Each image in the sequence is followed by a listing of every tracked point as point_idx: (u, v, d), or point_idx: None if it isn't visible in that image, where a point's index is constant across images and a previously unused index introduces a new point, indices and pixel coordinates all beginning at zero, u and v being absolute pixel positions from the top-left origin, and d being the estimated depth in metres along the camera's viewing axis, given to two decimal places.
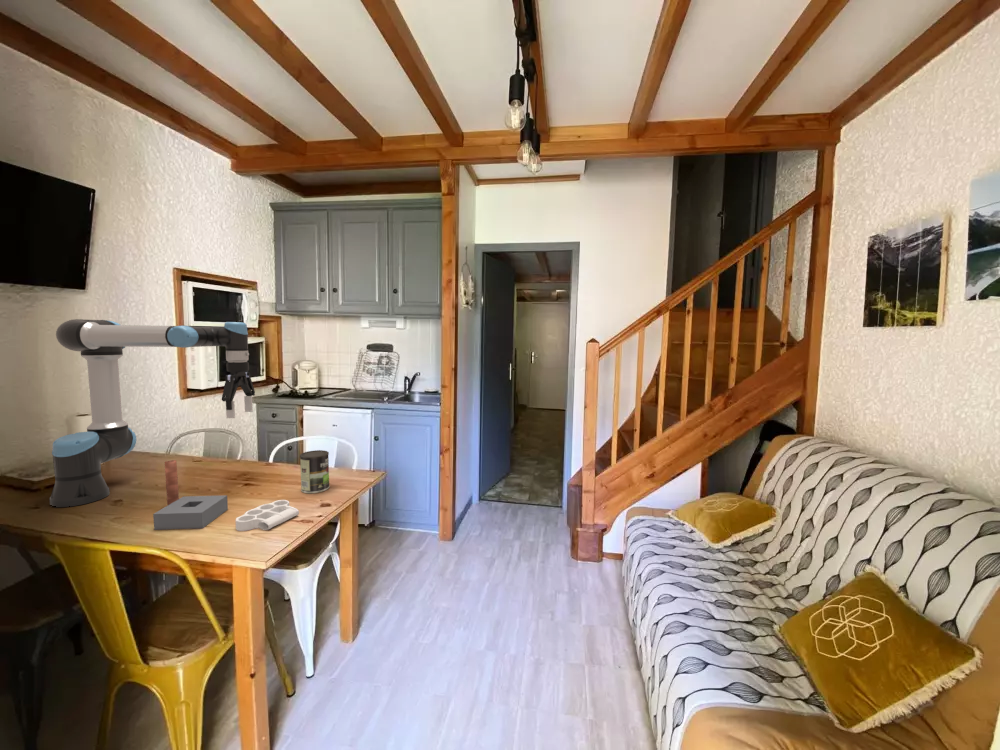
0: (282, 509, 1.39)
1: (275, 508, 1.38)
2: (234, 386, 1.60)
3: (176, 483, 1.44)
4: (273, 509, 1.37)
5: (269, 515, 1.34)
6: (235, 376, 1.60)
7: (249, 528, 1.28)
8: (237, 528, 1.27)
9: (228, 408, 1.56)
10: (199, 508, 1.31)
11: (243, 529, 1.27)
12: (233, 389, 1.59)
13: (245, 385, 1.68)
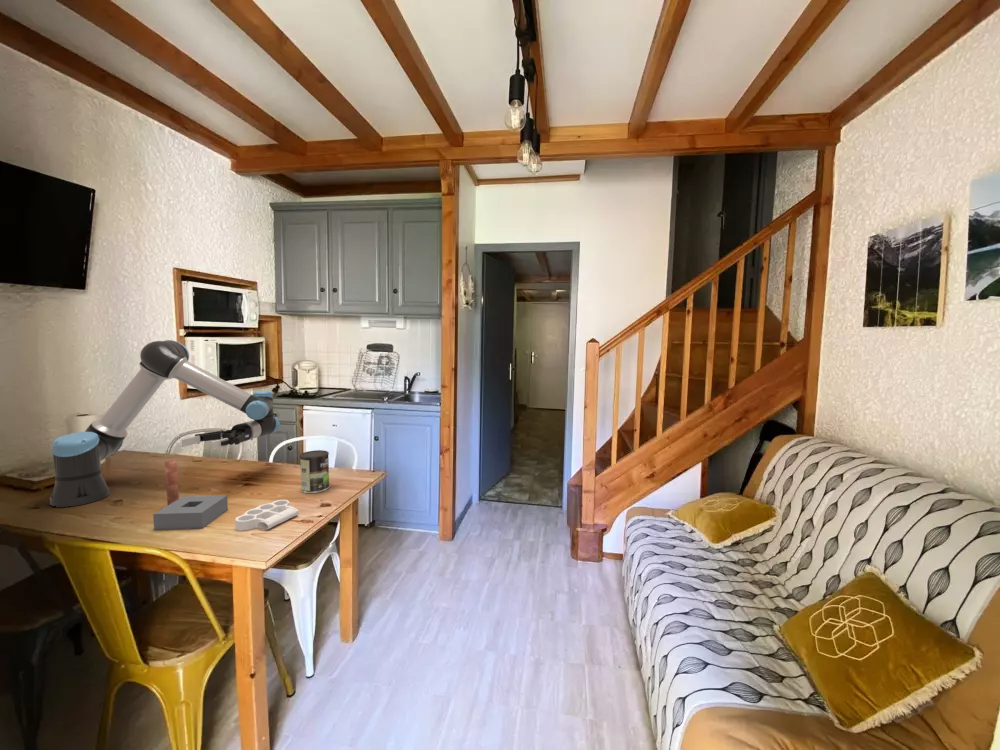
0: (282, 509, 1.39)
1: (275, 508, 1.38)
2: None
3: (176, 483, 1.44)
4: (273, 509, 1.37)
5: (269, 515, 1.34)
6: None
7: (249, 528, 1.28)
8: (237, 528, 1.27)
9: (224, 443, 1.54)
10: (199, 508, 1.31)
11: (242, 529, 1.27)
12: None
13: (217, 438, 1.64)
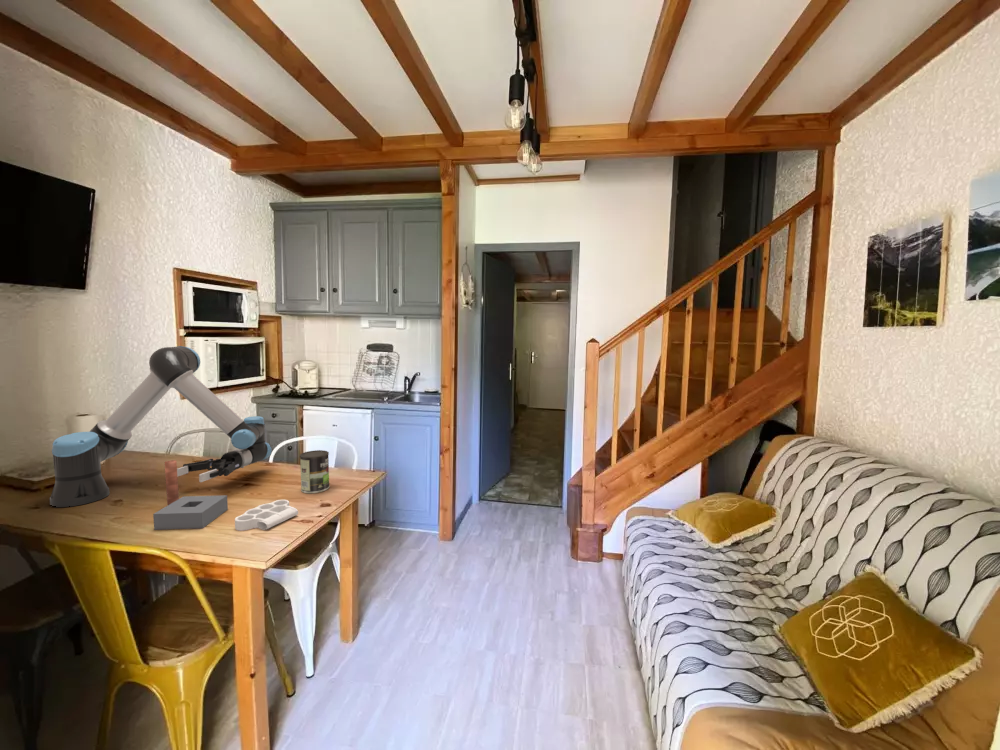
0: (282, 509, 1.39)
1: (275, 508, 1.38)
2: (224, 469, 1.58)
3: (176, 483, 1.44)
4: (273, 509, 1.37)
5: (268, 515, 1.34)
6: None
7: (248, 528, 1.28)
8: (236, 527, 1.28)
9: (213, 475, 1.49)
10: (199, 508, 1.31)
11: (242, 529, 1.27)
12: None
13: (206, 468, 1.59)
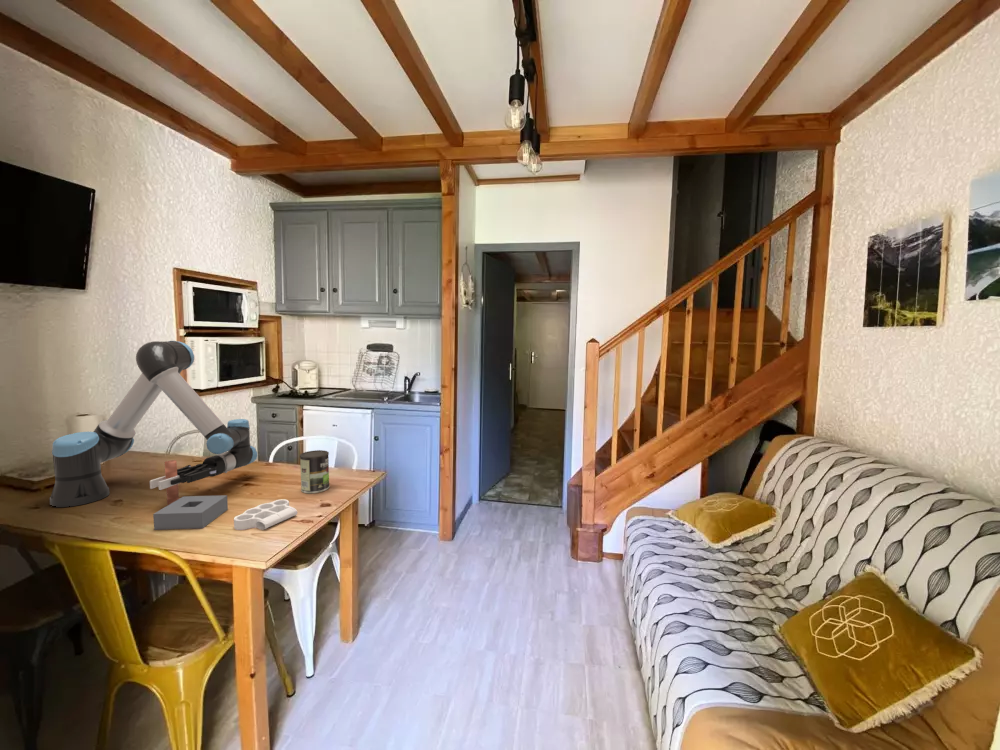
0: (281, 509, 1.39)
1: (274, 507, 1.38)
2: None
3: None
4: (272, 508, 1.37)
5: (267, 514, 1.34)
6: None
7: (246, 527, 1.28)
8: (235, 527, 1.28)
9: (174, 482, 1.41)
10: (199, 508, 1.31)
11: (240, 528, 1.28)
12: None
13: None
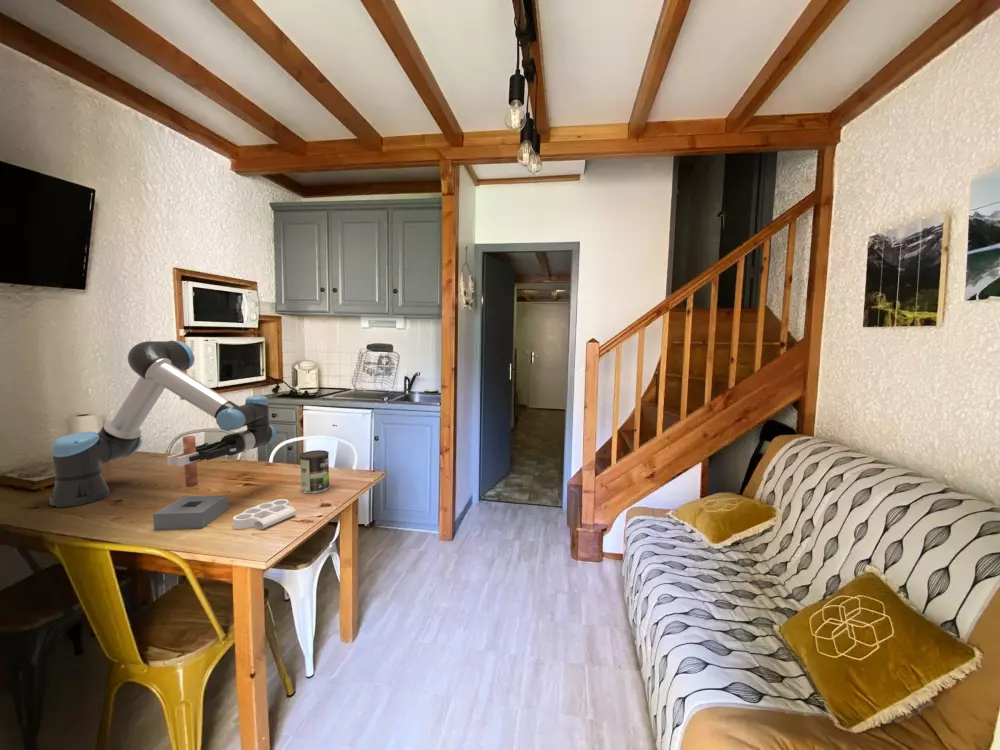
0: (281, 508, 1.39)
1: (274, 507, 1.38)
2: None
3: None
4: (271, 508, 1.38)
5: (267, 514, 1.35)
6: None
7: (245, 527, 1.29)
8: (234, 526, 1.29)
9: (193, 459, 1.32)
10: (199, 508, 1.31)
11: (239, 528, 1.28)
12: None
13: None
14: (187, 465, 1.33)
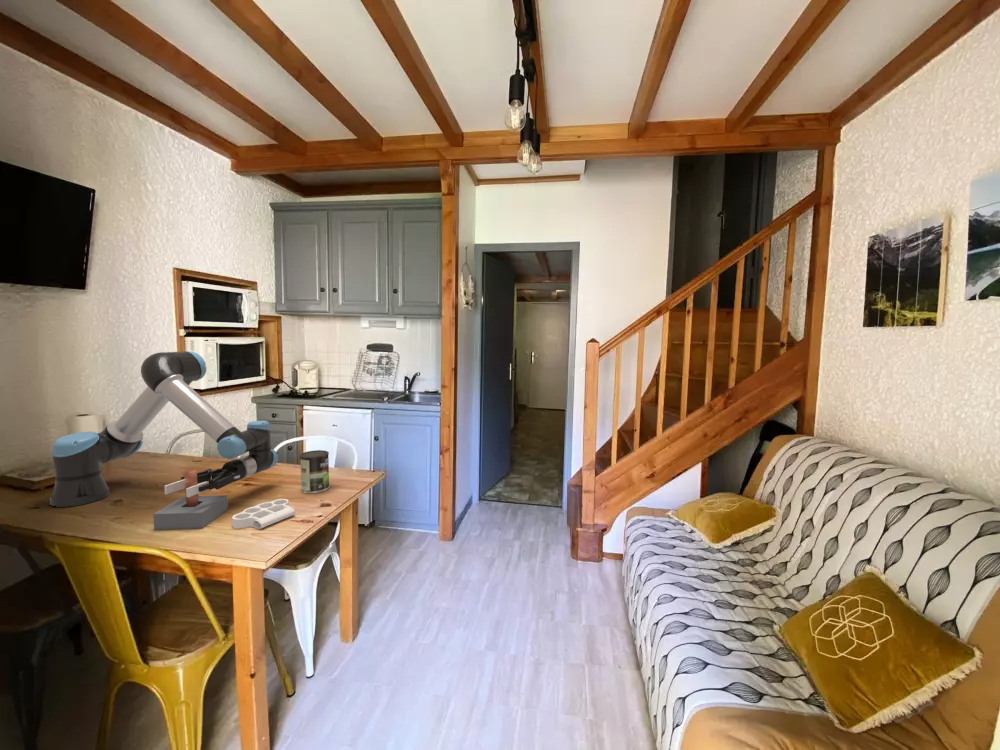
0: (280, 508, 1.40)
1: (273, 507, 1.39)
2: None
3: (196, 494, 1.34)
4: (271, 508, 1.38)
5: (266, 514, 1.35)
6: None
7: (244, 526, 1.29)
8: (233, 525, 1.29)
9: (203, 489, 1.31)
10: (199, 508, 1.31)
11: (238, 527, 1.28)
12: (219, 482, 1.39)
13: (207, 480, 1.42)
14: (188, 499, 1.33)
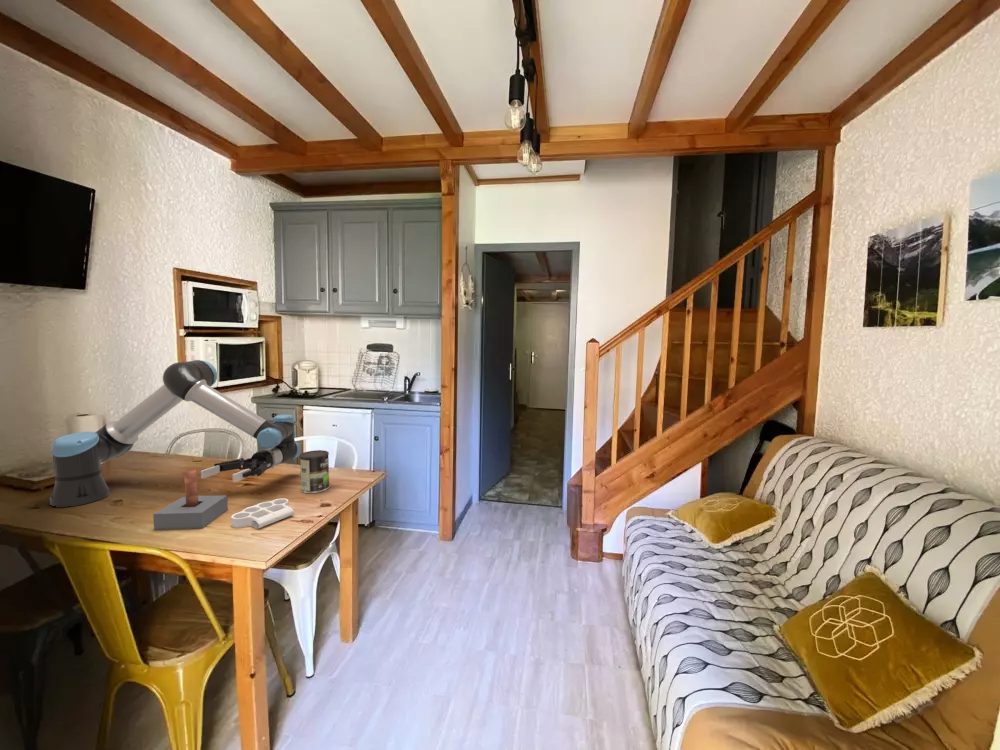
0: (280, 508, 1.40)
1: (273, 506, 1.39)
2: (256, 469, 1.53)
3: (196, 494, 1.34)
4: (270, 507, 1.38)
5: (265, 513, 1.35)
6: None
7: (242, 525, 1.29)
8: (232, 525, 1.30)
9: (246, 475, 1.44)
10: (199, 508, 1.31)
11: (236, 526, 1.29)
12: (256, 470, 1.52)
13: (237, 468, 1.55)
14: (188, 499, 1.33)
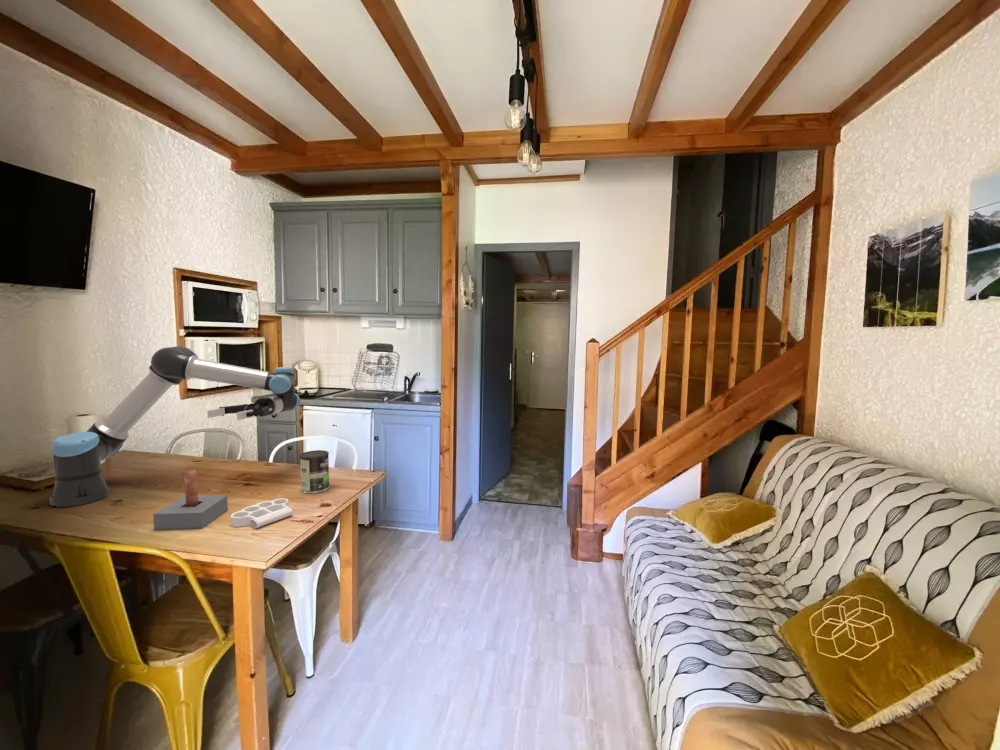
0: (279, 508, 1.40)
1: (272, 506, 1.39)
2: None
3: (196, 494, 1.34)
4: (270, 507, 1.38)
5: (264, 513, 1.36)
6: None
7: (241, 525, 1.30)
8: (231, 524, 1.30)
9: (250, 414, 1.55)
10: (199, 508, 1.31)
11: (235, 525, 1.30)
12: None
13: (241, 411, 1.65)
14: (188, 499, 1.33)
